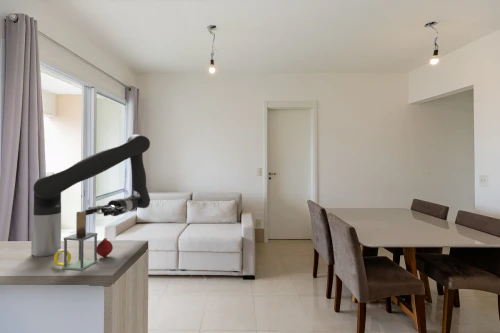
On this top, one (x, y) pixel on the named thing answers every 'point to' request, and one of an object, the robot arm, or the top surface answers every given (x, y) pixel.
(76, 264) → the mat
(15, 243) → the top surface
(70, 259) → the watch
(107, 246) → the onion
